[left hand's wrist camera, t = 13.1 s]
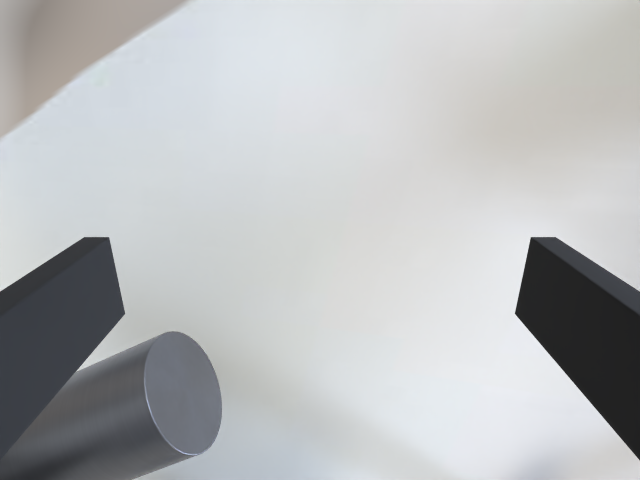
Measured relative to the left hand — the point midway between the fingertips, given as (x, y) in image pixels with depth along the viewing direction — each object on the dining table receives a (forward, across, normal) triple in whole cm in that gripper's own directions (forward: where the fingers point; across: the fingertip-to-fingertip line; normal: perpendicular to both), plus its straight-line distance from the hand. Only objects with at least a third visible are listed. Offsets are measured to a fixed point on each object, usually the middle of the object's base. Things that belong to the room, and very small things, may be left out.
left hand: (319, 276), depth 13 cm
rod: (+16, -21, -20) cm, 33 cm away
